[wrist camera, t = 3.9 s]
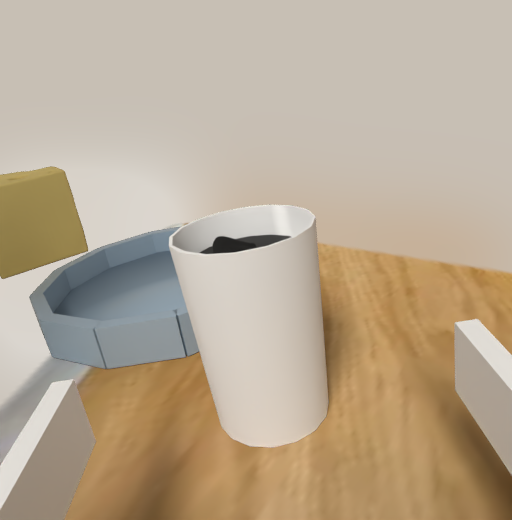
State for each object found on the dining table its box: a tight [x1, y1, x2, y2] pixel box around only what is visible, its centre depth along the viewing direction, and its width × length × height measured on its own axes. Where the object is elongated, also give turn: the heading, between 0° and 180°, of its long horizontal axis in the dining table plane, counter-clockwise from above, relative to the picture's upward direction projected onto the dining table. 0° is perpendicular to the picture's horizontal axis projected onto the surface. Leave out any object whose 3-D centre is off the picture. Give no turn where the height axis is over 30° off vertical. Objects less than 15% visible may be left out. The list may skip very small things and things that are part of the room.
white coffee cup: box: [169, 205, 329, 448], centre depth 23 cm, size 7×7×10 cm
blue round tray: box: [30, 227, 199, 369], centre depth 40 cm, size 20×20×3 cm
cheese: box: [0, 167, 88, 279], centre depth 56 cm, size 10×11×10 cm
